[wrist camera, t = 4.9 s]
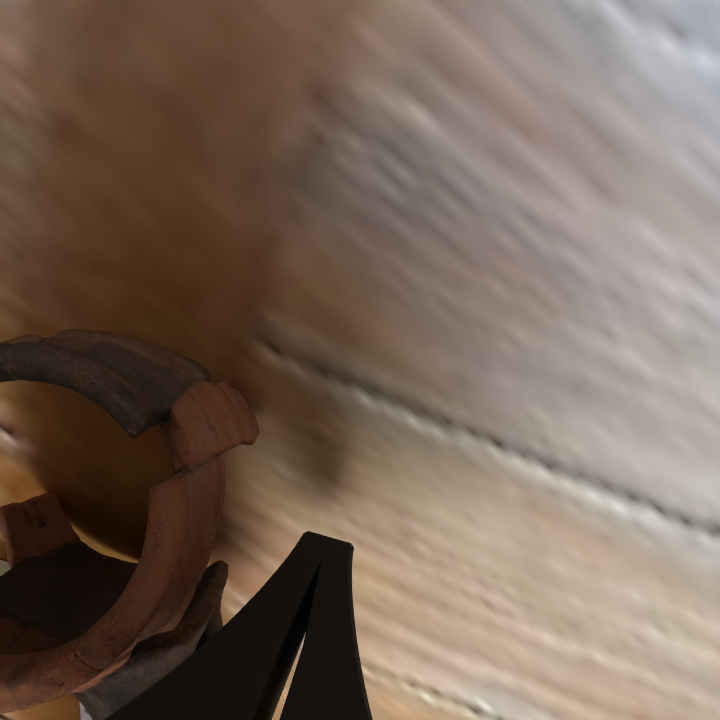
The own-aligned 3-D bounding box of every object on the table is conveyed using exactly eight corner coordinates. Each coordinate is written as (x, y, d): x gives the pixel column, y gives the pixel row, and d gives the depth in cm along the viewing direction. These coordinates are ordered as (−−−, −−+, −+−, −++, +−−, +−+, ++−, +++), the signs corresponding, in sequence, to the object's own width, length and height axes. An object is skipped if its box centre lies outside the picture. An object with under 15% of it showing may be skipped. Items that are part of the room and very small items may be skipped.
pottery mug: (-13, 443, 16) (-361, 469, 8) (205, 310, 17) (95, 215, 9) (154, 727, 15) (-47, 1077, 7) (372, 565, 17) (412, 707, 8)
